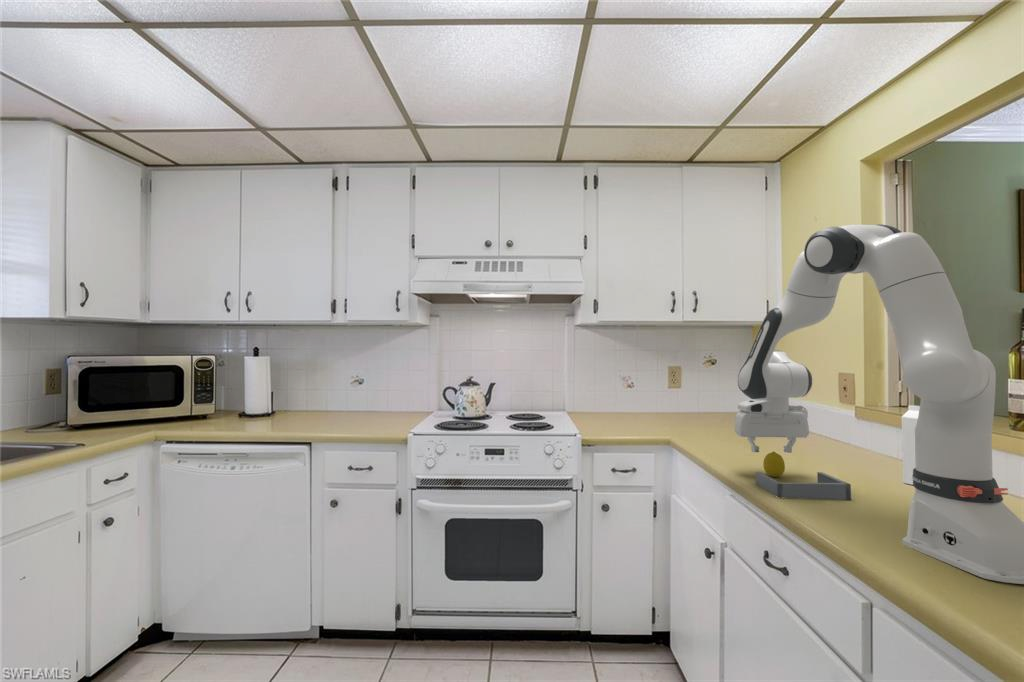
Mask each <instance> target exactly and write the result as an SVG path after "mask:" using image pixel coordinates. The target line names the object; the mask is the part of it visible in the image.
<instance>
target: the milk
mask: <svg viewBox="0 0 1024 682" xmlns="http://www.w3.org/2000/svg"><path fill="white" fill-rule="evenodd" d="M919 409H920V405H912V404H909V405H908V410H907V411H906V412H905V413H904V414H902V416H901V450H902V451H901V452H902V455H901V456H902V458H901V459H902V483H904V484H907V485H910V486H911V485H912V486H913V479H912V475H913V469H914V468H916V464H915V427H916V425H917V420H918V415H919Z"/></svg>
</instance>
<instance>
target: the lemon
mask: <svg viewBox="0 0 1024 682" xmlns="http://www.w3.org/2000/svg"><path fill="white" fill-rule="evenodd" d="M785 465H786V464H785V460H784V458H783V456H782V455H781V454H779V453H777V452H776V451H771V452H769V453H767V454H766V455H765V457H764V458H763V468H764V472H765V473H766V475H767V476H769V477H771V478H779V477H781V476H783V474H784V472H785V469H786V466H785Z"/></svg>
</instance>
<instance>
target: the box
mask: <svg viewBox="0 0 1024 682" xmlns="http://www.w3.org/2000/svg"><path fill="white" fill-rule="evenodd" d="M816 474H817V475H816V476H817V482H782V481H781V482H780V481H778V480H777V479H774V477H771V476H770V475H768V474H765V473H763V472H761V471H755V484H756V485H757V484H758V485H759V487H760V486H761V487H760V488H762V489H763V488H764V489H763V490H765V489H766V490H767V491H766V490H765V491H766V492H768V493H769V492H770V493H769V494H771V493H772V494H771V495H773V496H774V495H775V496H774V497H776V496H777V497H780V498H779V499H782V498H781V497H784V498H783V499H798V498H803V500H805V499H806V500H809V499H810V500H832V501H833V500H835V501H852V491H851V490H852V488H851V487H852V484H851V483H849V482H847V481H844V480H841V479H839V478H836V477H834V476H832V475H829V474H827V473H824V472H822V471H821V472H820V471H819V472H816ZM758 485H757V486H758ZM777 497H776V498H777ZM785 497H786V498H785Z"/></svg>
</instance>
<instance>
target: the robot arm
mask: <svg viewBox="0 0 1024 682" xmlns="http://www.w3.org/2000/svg"><path fill="white" fill-rule="evenodd" d="M804 245H805V246H804V250H803V251H802V252H801V253H800V254H799V255H798V257H797V259H796V261H795V263H794V265H793V269H792V271H791V273H790V276H789V279H788V283H787V287H786V290H785V293H784V295H783V297H782V298H781V300H780V301H779V302H778V303H777V305H776V306H775V307H774V308H772V309H771V310H769V311H768V312H767V314H766V315H765V317H764V319H763V321H762V323H761V326H759V327H760V328H759V330H758V332H757V335H756V336H755V340H754V342H753V343H752V347H751V348H750V352H749V354H748V356H747V358H746V360H745V361H744V364H743V365H742V367H741V368H740V370H739V373H738V375H737V386H738V388H739V390H740V391H741V392H742V393H743V394H744V395H745V396H746V397H747V398H749V399H747V400H744V401H740V402H738V403H737V409H738V410H739V411H738V412H737V413H736V415H735V420H734V432H735V434H736V435H737V436H738V437H741V438H747V441H748V443H749V444H750V446H751V452H752V453H760V446H759V445H756V443H755V441H756V438H786V439H787V440H788V442H787V443H786V445H783V452H784V453H786V454H790V453H792V452H793V447H794V445H795V443H796V442H797V438H798V439H799V438H800V439H801V438H803V439H806V438H808V436H809V434H810V429H809V421H808V417H809V416H808V415H809V414H808V410H807V408H806V407H804V406H802V405H789V404H790V402H789V401H790V399H791V398H794V399H795V398H801V397H802V398H803V397H805V396H807V394H809V392H810V391H811V389H812V387H813V377H812V373H811V371H810V370H809V369H808V367H806V365H804V364H803V363H802V364H801V363H797V362H795V361H794V360H792V359H791V358H789V357H788V354H787V353H786V351H782V350H776V347H777V345H778V343H779V342H780V341H781V339H783V338H784V337H786V336H788V335H789V334H791V333H793V332H796V331H798V330H801V329H804V328H808V327H811V326H814V325H817V324H818V323H821V322H822V321H823V320H825V319H826V318H827V317H828V316H829V315H830V313H831V312H832V311H833V310H832V309H833V308H834V307H835V306H834V305H835V303H836V298H837V294H838V291H839V287H840V283H841V280H842V279H843V277H844V276H846V275H847V274H852V275H854V274H856V275H857V274H863V273H868V275H870V277H871V278H872V280H873V281H874V283H875V286H876V289H877V292H878V295H879V297H880V299H881V302H882V304H883V306H884V307H883V308H884V309H885V313H886V314H887V316H888V319H889V322H890V324H891V327H892V330H893V333H894V338H895V343H896V349H897V353H898V357H899V361H900V365H901V369H902V380H903V382H904V385H905V386H906V389H908V391H910V392H911V393H912V394H913V395H914V396H916V397H918V398H920V402H919V406H920V409H919V415H918V420H917V425H916V427H915V464H916V468H914V469H913V475H912V479H913V485H912V486H913V487H914V488H915V489H914V495H913V497H912V500H911V501H910V504H909V512H908V521H907V522H908V523H907V530H906V531H907V532H906V536H905V537H903V538H902V542H901V544H902V545H903V544H904V545H903V546H905V545H906V547H907V546H908V548H910V547H911V548H910V549H912V548H913V549H912V550H914V549H915V551H917V552H919V553H921V554H924V555H927V556H929V557H931V558H934V559H936V560H939V561H941V562H944V563H946V564H948V565H949V566H953V567H955V568H957V569H960V570H963V571H965V572H967V573H970V574H972V575H974V576H977V577H980V578H981V579H985V580H990V581H996V582H1002V583H1008V584H1019V585H1024V521H1023V520H1022V519H1020V518H1019V517H1018V515H1016V514H1015V512H1013V511H1012V510H1011V509H1010V508H1009V507H1008V506H1007V505H1006V504H1005V503H1004V502H1003V501H1004V497H1003V495H1005V496H1008V495H1009V493H1007V492H1004V491H1008V490H1009V488H1007V487H1000V486H999V485H998V482H997V480H996V479H995V478H994V476H993V474H994V473H993V445H992V443H993V442H992V441H993V439H992V438H993V437H992V436H993V435H992V434H993V425H994V424H993V423H994V414H995V401H996V379H997V374H996V373H997V372H996V368H995V366H994V363H993V362H992V360H990V358H989V357H987V356H986V355H985V354H984V353H982V352H981V351H978V350H976V349H974V347H973V345H972V342H971V339H970V337H969V333H968V329H967V327H966V323H965V319H964V315H963V310H962V307H961V304H960V302H959V301H958V298H957V296H956V294H955V291H954V290H953V286H952V285H951V283H950V280H949V278H948V275H947V274H946V271H945V269H944V268H943V265H942V263H941V262H940V260H939V258H938V256H937V255H936V254H935V252H934V251H933V249H932V247H931V245H929V244H928V242H927V241H926V240H925V238H923V236H921V234H918V233H916V232H911V231H910V232H909V231H907V232H906V231H904V232H902V231H901V230H900V229H898V228H896V227H894V226H891V225H887V224H882V223H881V224H880V223H879V224H859V223H857V224H847V225H846V224H845V225H840V226H830V227H826V228H823V229H821V230H818V231H816V232H814V233H813V234H811V236H810V237H809V238H808V239H807V241H806V243H805V244H804ZM789 398H790V399H789Z"/></svg>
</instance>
